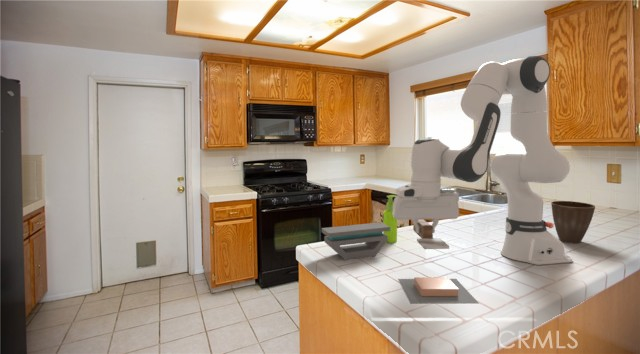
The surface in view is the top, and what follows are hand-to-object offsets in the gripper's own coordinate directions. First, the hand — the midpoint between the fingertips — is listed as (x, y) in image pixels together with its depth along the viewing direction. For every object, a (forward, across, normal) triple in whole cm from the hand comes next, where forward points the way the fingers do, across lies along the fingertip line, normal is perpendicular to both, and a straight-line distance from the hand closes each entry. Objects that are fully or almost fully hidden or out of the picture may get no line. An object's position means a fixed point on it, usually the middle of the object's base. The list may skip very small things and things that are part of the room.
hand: (425, 232), depth 107 cm
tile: (+12, 0, +8) cm, 15 cm away
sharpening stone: (+14, +20, -20) cm, 32 cm away
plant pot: (+15, -73, -37) cm, 83 cm away
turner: (+2, 0, +1) cm, 2 cm away
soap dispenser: (+15, +3, -39) cm, 42 cm away
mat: (+14, 0, +12) cm, 18 cm away
